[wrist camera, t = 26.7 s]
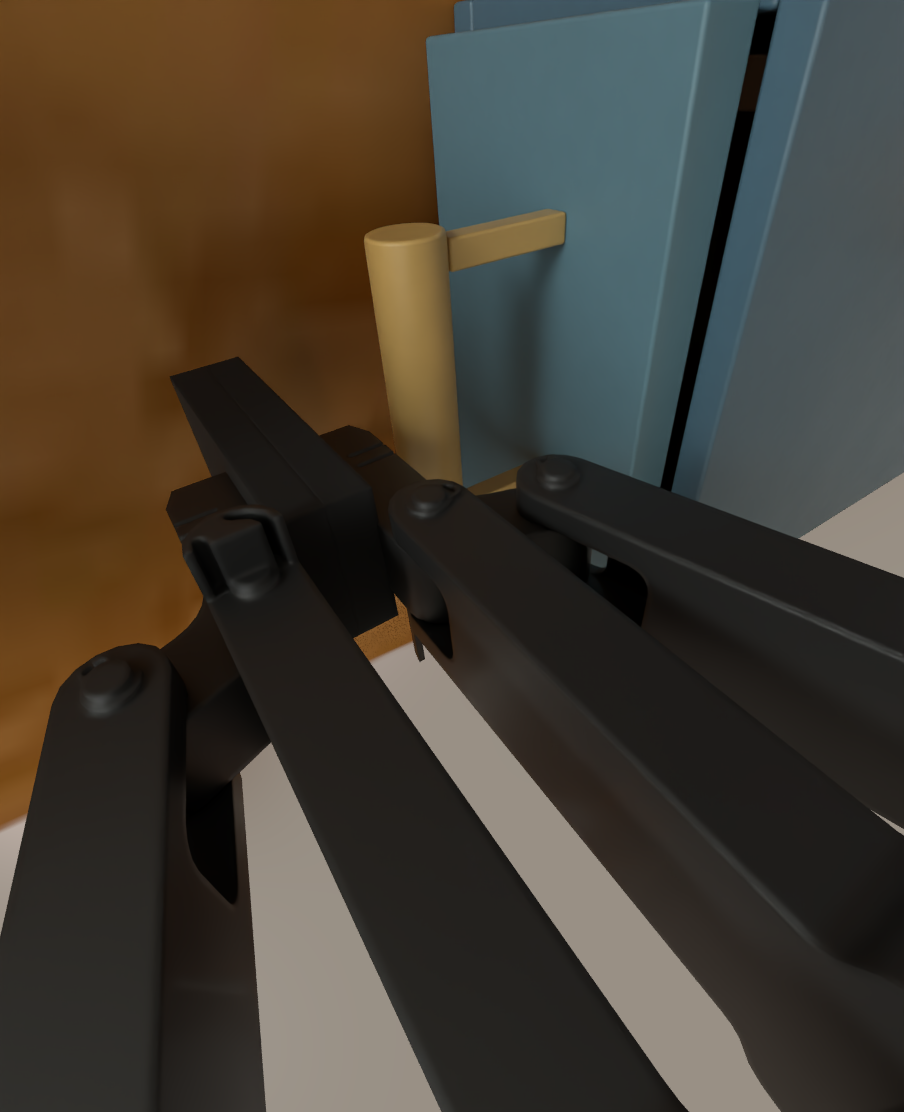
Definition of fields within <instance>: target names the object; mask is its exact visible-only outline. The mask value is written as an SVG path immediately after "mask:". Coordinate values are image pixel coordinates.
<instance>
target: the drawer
mask: <svg viewBox="0 0 904 1112" xmlns="http://www.w3.org/2000/svg"><path fill="white" fill-rule="evenodd" d="M759 4H760V0H683V1H676V2H669V3H662V4H655V5H648V6H641V7H634V8H627V9H620V10H613V11H606V12H599V13H591V14H584V15H577V16H570V17H563V18H556V19H549V20H542V21H535V22H528V23H521V24H514V25H507V26H499V27H492V28H485V29H478V30H471V31H464V32H457V33H450V34H443V35H436V36H429V37H428V38H427V39H426V50H427V64H428V78H429V92H430V105H431V119H432V133H433V147H434V161H435V175H436V189H437V202H438V216H439V225H436V224H431V223H404V224H396V225H390V226H385V227H381V228H378V229H375V230H373V231H371V232H369V233H367V234H366V235H365V237H364V245H365V252H366V259H367V265H368V272H369V278H370V285H371V292H372V298H373V305H374V312H375V318H376V325H377V332H378V338H379V345H380V352H381V358H382V365H383V371H384V378H385V385H386V391H387V398H388V405H389V411H390V418H391V425H392V431H393V438H394V444H395V451H396V454H397V455H398V456H399V457H400V458H401V459H403V460H404V461H405V462H406V463H407V464H409V465H410V466H411V467H412V468H413V469H414V470H416V471H417V472H418V473H419V474H420V475H422V476H423V477H424V478H425V479H426V480H429V479H443V480H449V481H454V482H456V483H458V484H460V485H462V486H464V487H465V488H467V489H468V490H469V491H470V492H472V493H473V494H474V495H482V494H489V493H494V492H499V491H504V490H509V489H514V488H516V477H517V471H518V470H519V468H520V467H521V466H522V465H523V464H524V463H525V462H528V461H530V460H532V459H534V458H536V457H540V456H546V455H551V454H555V455H569V456H574V457H578V458H582V459H584V460H587V461H590V462H592V463H595V464H598V465H601V466H603V467H606V468H609V469H611V470H614V471H617V472H619V473H622V474H625V475H628V476H630V477H633V478H636V479H638V480H641V481H644V482H646V483H649V484H652V485H654V486H657V487H660V488H663V489H665V490H668V491H671V489H672V485H673V480H674V476H675V471H676V467H677V462H678V458H679V453H680V449H681V444H682V440H683V435H684V431H685V426H686V422H687V417H688V413H689V408H690V404H691V399H692V395H693V390H694V386H695V381H696V377H697V372H698V367H699V363H700V358H701V354H702V349H703V345H704V340H705V336H706V331H707V327H708V322H709V318H710V313H711V309H712V304H713V300H714V295H715V291H716V286H717V282H718V277H719V273H720V268H721V264H722V259H723V255H724V250H725V245H726V241H727V236H728V232H729V227H730V223H731V218H732V214H733V209H734V205H735V200H736V196H737V191H738V187H739V182H740V178H741V173H742V169H743V164H744V160H745V155H746V151H747V146H748V142H749V137H750V133H751V128H752V123H753V119H754V114H755V110H756V105H757V101H758V96H759V92H760V87H761V83H762V78H763V74H764V69H765V65H766V60H767V56H768V51H769V47H770V42H768V43H758V44H751V43H752V38H753V33H754V28H755V24H756V19H757V14H758V9H759ZM607 558H608V556H606V555H604V554H602V553H600V552H598V551H596V550H593V549H592V555H591V564H593V565H595V566H598V567H606V566H607Z"/></svg>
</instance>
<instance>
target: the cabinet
mask: <svg viewBox="0 0 904 1112" xmlns="http://www.w3.org/2000/svg"><path fill="white" fill-rule="evenodd" d="M676 1H683V0H465V1H460V2H457V3H456V4H455V5H454V19H455V33H457V32H464V31H471V30H478V29H485V28H492V27H499V26H507V25H514V24H521V23H528V22H535V21H542V20H549V19H556V18H563V17H570V16H577V15H584V14H591V13H599V12H606V11H613V10H620V9H627V8H634V7H641V6H648V5H655V4H662V3H669V2H676ZM768 42H770V47H769V51H768V56H767V60H766V65H765V69H764V74H763V78H762V83H761V87H760V92H759V96H758V101H757V105H756V110H755V114H754V119H753V123H752V128H751V133H750V137H749V142H748V146H747V151H746V155H745V160H744V164H743V169H742V173H741V178H740V182H739V187H738V191H737V196H736V200H735V205H734V209H733V214H732V218H731V223H730V227H729V232H728V236H727V241H726V245H725V250H724V255H723V259H722V264H721V268H720V273H719V277H718V282H717V286H716V291H715V295H714V300H713V304H712V309H711V313H710V318H709V322H708V327H707V331H706V336H705V340H704V345H703V349H702V354H701V358H700V363H699V367H698V372H697V377H696V381H695V386H694V390H693V395H692V399H691V404H690V408H689V413H688V417H687V422H686V426H685V431H684V435H683V440H682V444H681V449H680V453H679V458H678V462H677V467H676V471H675V476H674V480H673V485H672V489H671V492H673V493H676V494H679V495H681V496H684V497H687V498H690V499H692V500H695V501H698V502H700V503H703V504H706V505H708V506H711V507H714V508H717V509H719V510H722V511H725V512H727V513H730V514H733V515H735V516H738V517H741V518H744V519H746V520H749V521H752V522H754V523H757V524H760V525H762V526H765V527H768V528H771V529H773V530H776V531H779V532H781V533H784V534H787V535H789V536H792V537H795V538H797V539H798V538H800V537H801V536H803V535H805V534H806V533H808V532H810V531H811V530H813V529H814V528H816V527H817V526H819V525H821V524H822V523H824V522H825V521H827V520H829V519H830V518H832V517H833V516H835V515H837V514H838V513H840V512H841V511H843V510H845V509H846V508H848V507H849V506H851V505H853V504H854V503H855V502H857V501H859V500H860V499H862V498H864V497H865V496H867V495H868V494H870V493H872V492H873V491H875V490H876V489H878V488H879V487H881V486H883V485H884V484H886V483H888V482H889V481H891V480H892V479H894V478H895V477H897V476H899V475H900V474H902V473H903V472H904V0H760V4H759V9H758V14H757V19H756V24H755V28H754V33H753V38H752V43H751V44H758V43H768Z"/></svg>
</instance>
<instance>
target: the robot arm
mask: <svg viewBox="0 0 904 1112" xmlns="http://www.w3.org/2000/svg"><path fill="white" fill-rule="evenodd" d="M170 379H171V381H172V384H173V386H174V388H175V391H176V393H177V395H178V398H179V400H180V403H181V405H182V407H183V410H184V412H185V414H186V417H187V419H188V421H189V424H190V426H191V429H192V431H193V433H194V436H195V438H196V440H197V443H198V445H199V447H200V450H201V452H202V455H203V457H204V459H205V462H206V464H207V466H208V469H209V471H210V473H211V476H212V477H210V478H207V479H204V480H202V481H199V482H196V483H193V484H191V485H188V486H185V487H182V488H180V489H177V490H174V491H171V495H170V498H169V501H168V504H167V507H166V511H167V513H168V515H169V517H170V519H171V522H172V524H173V526H174V528H175V530H176V532H177V535H178V537H179V539H180V541H181V543H182V553H183V557H184V559H185V561H186V563H187V565H188V567H189V569H190V571H191V573H192V575H193V577H194V579H195V581H196V582H197V584H198V586H199V588H200V590H201V592H202V594H203V602H202V607H201V609H200V611H199V613H198V615H197V617H196V618H195V619H194V620H193V622H192V623H191V624H190V625H189V626H188V628H187V629H185V630H184V631H183V632H182V633H181V634H180V635H178V636H177V637H176V638H175V639H174V640H172V641H171V642H169V643H168V644H167V645H165V646H164V647H163V648H161V649H159V648H157V647H156V646H152V645H146V644H140V643H137V644H130V645H124V646H118V647H115V648H113V649H110V650H108V651H106V652H103V653H101V654H99V655H96V656H95V657H93V658H92V659H90V660H89V661H87V662H86V663H85V664H83V665H82V666H80V667H79V668H77V669H76V670H75V671H74V672H73V673H72V674H71V675H70V677H69V678H68V679H67V680H66V681H65V682H64V683H63V684H62V685H61V687H60V688H59V691H58V693H57V695H56V697H55V699H54V701H53V704H52V707H51V711H50V716H49V720H48V725H47V729H46V734H45V738H44V742H43V747H42V751H41V756H40V760H39V765H38V769H37V774H36V778H35V783H34V787H33V792H32V796H31V801H30V805H29V810H28V814H27V819H26V824H25V828H24V833H23V837H22V842H21V846H20V850H19V855H18V859H17V864H16V869H15V873H14V877H13V882H12V886H11V891H10V895H9V900H8V905H7V909H6V914H5V918H4V922H3V927H2V931H1V936H0V1112H266V1106H265V1105H266V1104H265V1091H264V1077H263V1063H262V1050H261V1036H260V1022H259V1009H258V995H257V982H256V968H255V955H254V940H253V928H252V913H251V900H250V886H249V873H248V858H247V845H246V831H245V818H244V804H243V791H242V778H241V775H240V772H241V770H243V769H244V768H245V767H246V766H247V765H248V764H249V763H250V762H251V761H252V760H253V759H254V758H255V757H256V756H257V755H258V754H259V753H260V752H261V751H262V750H263V749H264V748H266V746H268V745H269V744H270V743H272V745H273V747H274V749H275V751H276V754H277V756H278V758H279V760H280V762H281V764H282V766H283V769H284V771H285V773H286V775H287V777H288V780H289V782H290V784H291V786H292V788H293V790H294V793H295V795H296V797H297V799H298V801H299V803H300V806H301V808H302V810H303V812H304V814H305V816H306V819H307V821H308V823H309V825H310V827H311V829H312V832H313V834H314V836H315V838H316V840H317V843H318V845H319V847H320V849H321V851H322V853H323V855H324V857H325V860H326V862H327V864H328V866H329V868H330V871H331V873H332V875H333V877H334V879H335V882H336V884H337V886H338V888H339V890H340V892H341V895H342V897H343V899H344V901H345V903H346V905H347V908H348V910H349V912H350V914H351V916H352V918H353V921H354V923H355V925H356V927H357V929H358V931H359V934H360V936H361V938H362V940H363V942H364V945H365V947H366V949H367V951H368V953H369V955H370V958H371V960H372V962H373V964H374V966H375V968H376V970H377V973H378V975H379V977H380V979H381V981H382V983H383V986H384V988H385V990H386V992H387V994H388V997H389V999H390V1001H391V1003H392V1005H393V1007H394V1010H395V1012H396V1014H397V1016H398V1018H399V1020H400V1023H401V1025H402V1027H403V1029H404V1031H405V1033H406V1036H407V1038H408V1040H409V1042H410V1044H411V1047H412V1048H413V1051H414V1053H415V1055H416V1057H417V1059H418V1062H419V1064H420V1066H421V1068H422V1070H423V1073H424V1074H425V1077H426V1079H427V1081H428V1083H429V1085H430V1088H431V1090H432V1092H433V1094H434V1096H435V1099H436V1101H437V1103H438V1105H439V1107H440V1109H441V1111H442V1112H689V1111H688V1110H687V1109H686V1108H685V1107H684V1106H683V1105H682V1103H681V1102H680V1101H679V1100H678V1098H677V1097H676V1096H675V1094H674V1093H673V1092H672V1090H671V1089H670V1088H669V1086H668V1085H667V1084H666V1082H665V1081H664V1080H663V1078H662V1077H661V1076H660V1074H659V1073H658V1071H657V1070H656V1069H655V1067H654V1066H653V1064H652V1063H651V1061H650V1060H649V1059H648V1057H647V1056H646V1054H645V1053H644V1052H643V1050H642V1049H641V1047H640V1046H639V1044H638V1043H637V1042H636V1040H635V1039H634V1037H633V1036H632V1035H631V1033H630V1032H629V1030H628V1029H627V1027H626V1026H625V1025H624V1023H623V1022H622V1020H621V1019H620V1017H619V1016H618V1015H617V1013H616V1012H615V1010H614V1009H613V1008H612V1006H611V1005H610V1003H609V1002H608V1000H607V999H606V997H605V996H604V995H603V993H602V992H601V990H600V989H599V988H598V986H597V985H596V983H595V982H594V980H593V979H592V978H591V976H590V975H589V973H588V972H587V971H586V969H585V968H584V966H583V965H582V963H581V962H580V960H579V959H578V958H577V956H576V955H575V953H574V952H573V951H572V949H571V948H570V946H569V945H568V944H567V942H566V941H565V939H564V938H563V936H562V935H561V933H560V932H559V931H558V929H557V928H556V926H555V925H554V924H553V922H552V921H551V919H550V918H549V917H548V915H547V914H546V912H545V911H544V909H543V908H542V907H541V905H540V904H539V902H538V901H537V899H536V898H535V897H534V895H533V894H532V892H531V891H530V889H529V888H528V887H527V885H526V884H525V882H524V881H523V880H522V878H521V877H520V875H519V874H518V873H517V871H516V870H515V868H514V867H513V865H512V864H511V862H510V861H509V860H508V858H507V857H506V855H505V854H504V852H503V851H502V850H501V848H500V847H499V845H498V844H497V843H496V841H495V840H494V838H493V837H492V835H491V834H490V833H489V831H488V830H487V828H486V827H485V825H484V824H483V823H482V821H481V820H480V818H479V817H478V815H477V814H476V813H475V811H474V810H473V808H472V807H471V806H470V804H469V803H468V802H467V800H466V798H465V797H464V796H463V794H462V793H461V791H460V790H459V788H458V787H457V786H456V784H455V783H454V781H453V780H452V779H451V777H450V776H449V774H448V773H447V772H446V770H445V769H444V767H443V766H442V764H441V763H440V761H439V760H438V759H437V757H436V756H435V754H434V753H433V751H432V750H431V749H430V747H429V746H428V744H427V743H426V742H425V740H424V739H423V737H422V736H421V734H420V733H419V732H418V730H417V729H416V727H415V726H414V724H413V723H412V722H411V720H410V719H409V717H408V716H407V714H406V713H405V712H404V710H403V709H402V707H401V706H400V705H399V703H398V702H397V700H396V699H395V698H394V696H393V695H392V693H391V692H390V690H389V689H388V687H387V686H386V685H385V683H384V682H383V680H382V679H381V678H380V676H379V675H378V673H377V672H376V671H375V669H374V668H373V666H372V665H371V663H370V662H369V660H368V659H367V658H366V656H365V655H364V653H363V652H362V651H361V649H360V648H359V646H358V645H357V643H356V642H355V641H354V639H353V638H354V637H356V636H358V635H360V634H362V633H364V632H366V631H368V630H370V629H372V628H374V627H376V626H378V625H380V624H382V623H384V622H386V621H388V620H389V619H391V618H393V617H395V616H397V615H398V611H397V606H396V601H395V596H394V594H395V595H396V596H397V597H398V598H399V600H400V601H401V602H402V603H403V604H404V605H405V607H406V608H407V612H408V617H409V622H410V627H411V633H412V638H413V643H414V648H415V653H416V655H417V657H418V660H419V661H422V660H424V659H425V657H424V650H423V645H424V646H425V647H426V649H427V650H428V651H429V652H430V653H431V655H432V656H433V657H434V658H435V660H436V661H437V662H438V663H439V665H440V666H441V667H442V668H443V669H444V671H445V672H446V673H447V674H448V676H449V677H450V678H451V679H452V681H453V682H454V683H455V684H456V685H457V687H458V688H459V689H460V690H461V692H462V693H463V694H464V695H465V696H466V698H467V699H468V700H469V701H470V703H471V704H472V705H473V706H474V708H475V709H476V710H477V711H478V712H479V714H480V715H481V716H482V717H483V718H484V720H485V721H486V722H487V723H488V725H489V726H490V727H491V728H492V730H493V731H494V732H495V733H496V734H497V736H498V737H499V738H500V739H501V741H502V742H503V743H504V744H505V746H506V747H507V748H508V749H509V751H510V752H511V753H512V754H513V755H514V756H515V758H516V759H517V760H518V762H520V764H521V765H522V766H523V768H524V769H525V770H526V771H527V772H528V774H529V775H530V776H531V778H532V779H533V780H534V781H535V782H536V784H537V785H538V786H539V787H540V789H541V790H542V791H543V792H544V794H545V795H546V796H547V797H548V798H549V800H550V801H551V802H552V803H553V805H554V806H555V807H556V808H557V810H558V811H559V812H560V813H561V814H562V816H563V817H564V818H565V819H566V821H567V822H568V823H569V824H570V825H571V827H572V828H573V829H574V830H575V831H576V833H577V834H578V835H579V837H580V838H581V839H582V840H583V841H584V843H585V844H586V845H587V846H588V848H589V849H590V850H591V851H592V853H593V854H594V855H595V856H596V857H597V859H598V860H599V861H600V862H601V864H602V865H603V866H604V867H605V868H606V870H607V871H608V872H609V873H610V875H611V876H612V877H613V878H614V879H615V881H616V882H617V883H618V884H619V886H620V887H621V888H622V889H623V891H624V892H625V893H626V894H627V896H628V897H629V898H630V899H631V900H632V902H633V903H634V904H635V905H636V907H637V908H638V909H639V910H640V911H641V913H642V914H643V915H644V916H645V918H646V919H647V920H648V921H649V923H650V924H651V925H652V926H653V927H654V929H655V930H656V931H657V932H658V933H659V935H660V936H661V937H662V939H663V940H664V941H665V942H666V943H667V944H668V946H669V947H670V948H671V950H672V951H673V952H674V953H675V954H676V956H677V957H678V958H679V959H680V961H681V962H682V963H683V964H684V965H685V966H686V968H687V969H688V970H689V972H690V973H691V974H692V975H693V977H695V979H696V980H697V982H698V983H699V984H700V985H701V986H702V988H703V989H704V990H705V991H706V993H707V994H708V995H709V996H710V997H711V999H712V1000H713V1001H714V1002H715V1004H716V1005H717V1006H718V1007H719V1009H721V1011H722V1012H723V1014H724V1015H725V1016H726V1018H727V1019H728V1020H729V1022H730V1023H731V1025H732V1026H733V1028H734V1030H735V1031H736V1033H737V1035H738V1036H739V1038H740V1041H741V1044H742V1046H743V1049H744V1052H745V1054H746V1057H747V1060H748V1063H749V1065H750V1066H751V1068H752V1070H753V1071H754V1073H755V1075H756V1077H757V1078H758V1080H759V1081H760V1083H761V1085H762V1086H763V1088H764V1089H765V1090H766V1092H767V1093H768V1094H769V1096H770V1097H771V1099H772V1100H773V1101H774V1103H775V1104H776V1105H777V1107H778V1108H779V1109H780V1111H781V1112H904V835H902V834H901V833H899V832H898V831H896V830H895V829H894V828H892V827H891V826H890V825H889V824H888V823H886V822H885V821H884V820H882V819H881V818H880V817H879V816H877V815H876V814H875V813H874V812H876V813H877V814H879V815H881V816H882V817H884V818H886V819H888V820H889V821H891V822H893V823H895V824H896V825H898V826H900V827H901V828H903V829H904V578H903V577H900V576H897V575H895V574H892V573H889V572H886V571H884V570H881V569H878V568H876V567H873V566H870V565H868V564H865V563H862V562H860V561H857V560H854V559H851V558H849V557H846V556H843V555H841V554H838V553H835V552H833V551H830V550H827V549H824V548H822V547H819V546H816V545H814V544H811V543H808V542H806V541H803V540H800V539H797V538H795V537H792V536H789V535H787V534H784V533H781V532H779V531H776V530H773V529H771V528H768V527H765V526H762V525H760V524H757V523H754V522H752V521H749V520H746V519H744V518H741V517H738V516H735V515H733V514H730V513H727V512H725V511H722V510H719V509H717V508H714V507H711V506H708V505H706V504H703V503H700V502H698V501H695V500H692V499H690V498H687V497H684V496H681V495H679V494H676V493H673V492H671V491H668V490H665V489H663V488H660V487H657V486H654V485H652V484H649V483H646V482H644V481H641V480H638V479H636V478H633V477H630V476H628V475H625V474H622V473H619V472H617V471H614V470H611V469H609V468H606V467H603V466H601V465H598V464H595V463H592V462H590V461H587V460H584V459H582V458H578V457H574V456H569V455H555V454H551V455H546V456H540V457H536V458H534V459H532V460H530V461H528V462H525V463H524V464H523V465H522V466H521V467H520V468H519V470H518V471H517V477H516V488H514V489H509V490H504V491H499V492H494V493H489V494H482V495H474V494H473V493H472V492H470V491H469V490H468V489H467V488H465V487H464V486H462V485H460V484H458V483H456V482H454V481H449V480H443V479H429V480H426V479H425V478H424V477H423V476H422V475H420V474H419V473H418V472H417V471H416V470H414V469H413V468H412V467H411V466H410V465H409V464H407V463H406V462H405V461H404V460H403V459H401V458H400V457H399V456H398V455H397V454H394V453H393V451H392V450H391V449H390V448H388V447H387V446H386V445H383V443H382V442H381V441H380V440H379V439H378V438H376V437H375V436H374V435H373V434H372V433H371V432H369V431H366V430H363V429H360V428H356V427H353V426H350V425H348V426H345V427H342V428H339V429H336V430H334V431H331V432H328V433H325V434H323V435H320V436H319V435H318V434H317V433H316V432H315V431H314V430H313V429H312V428H311V427H310V426H309V425H308V424H306V423H305V422H304V421H303V420H302V419H301V418H300V417H299V416H298V415H297V414H296V413H295V412H294V411H293V410H292V409H291V408H290V407H289V406H288V405H287V404H286V403H285V402H284V401H283V400H282V399H281V398H280V397H279V396H278V395H277V394H276V393H275V392H274V391H273V390H272V389H271V388H270V387H269V386H268V385H267V384H266V383H265V382H264V381H263V380H262V379H261V378H260V377H259V376H257V375H256V374H255V373H254V372H253V371H252V370H251V369H250V368H249V367H248V366H247V365H246V364H245V363H244V362H243V361H242V360H241V359H240V358H239V357H235V358H232V359H228V360H225V361H221V362H218V363H215V364H211V365H208V366H204V367H201V368H197V369H194V370H191V371H187V372H184V373H180V374H177V375H173V376H170ZM592 549H593V550H596V551H598V552H600V553H602V554H604V555H606V556H608V558H607V566H606V567H598V566H595V565H593V564H591V555H592ZM422 644H423V645H422ZM871 810H872V811H874V812H872V811H871Z"/></svg>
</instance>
